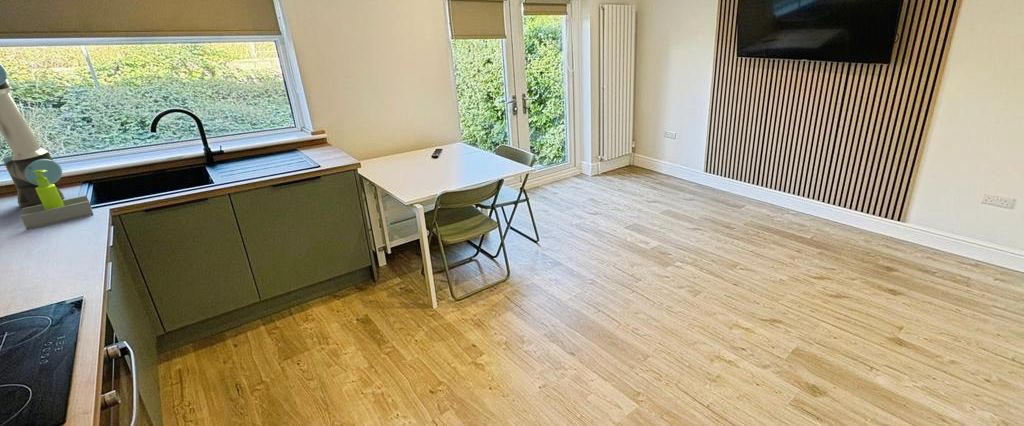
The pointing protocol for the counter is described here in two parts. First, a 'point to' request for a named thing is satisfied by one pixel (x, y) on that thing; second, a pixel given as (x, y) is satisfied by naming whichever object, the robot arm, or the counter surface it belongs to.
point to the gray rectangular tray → (56, 213)
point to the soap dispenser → (47, 191)
